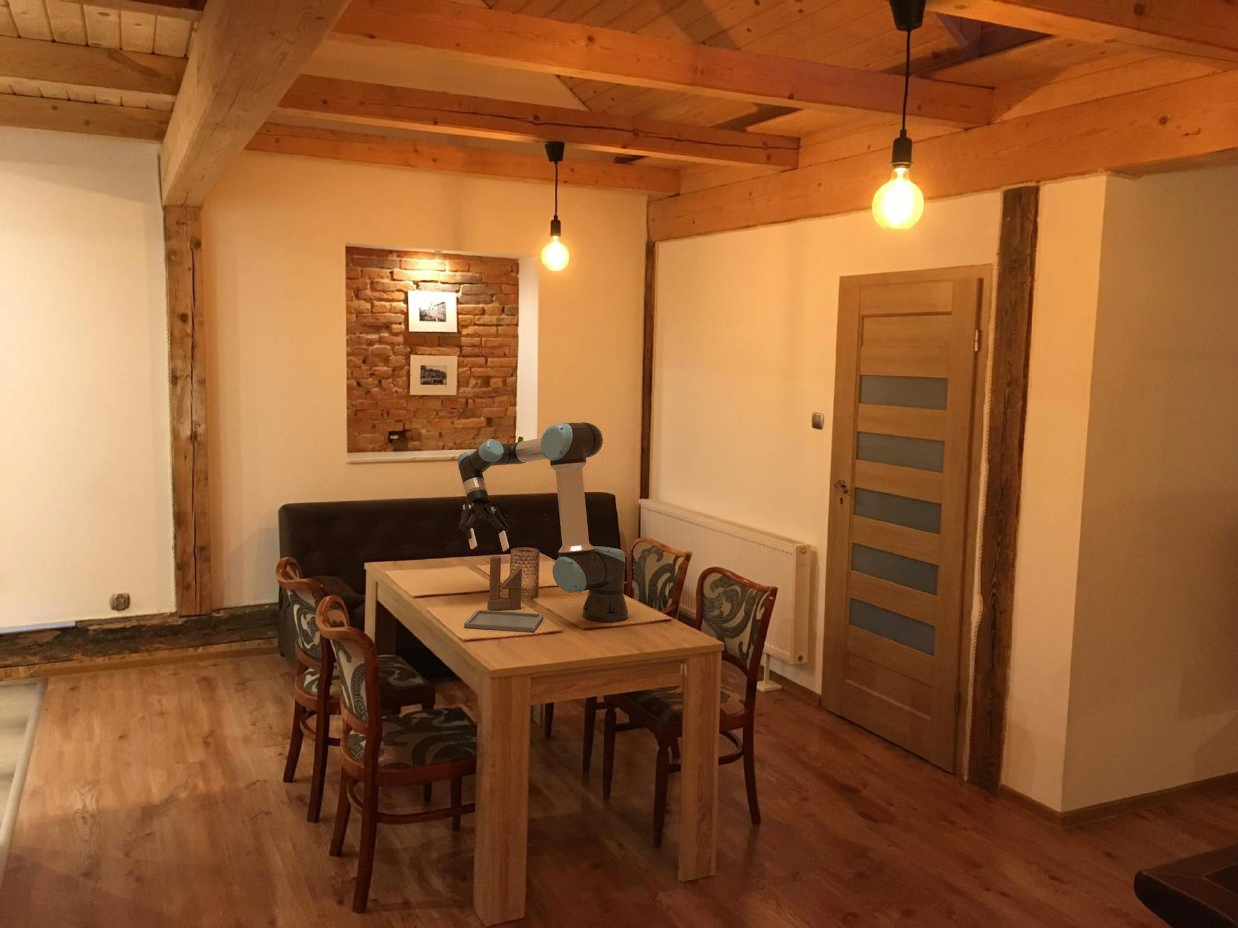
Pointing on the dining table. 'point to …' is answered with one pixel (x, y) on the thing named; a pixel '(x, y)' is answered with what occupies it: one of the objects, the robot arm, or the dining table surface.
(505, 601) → the wooden block
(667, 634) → the dining table surface
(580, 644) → the dining table surface
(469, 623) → the slate tray
